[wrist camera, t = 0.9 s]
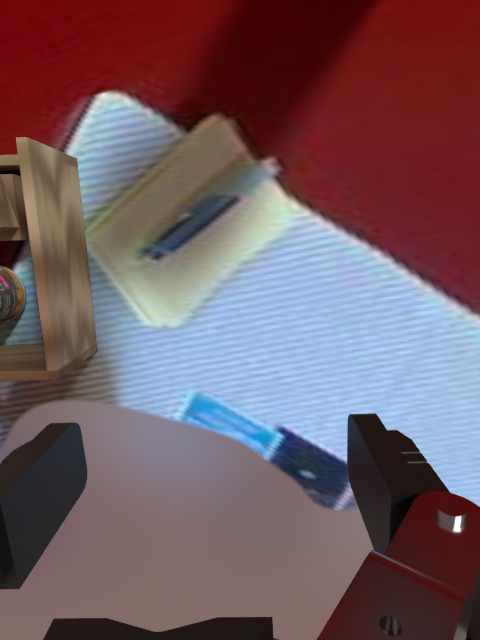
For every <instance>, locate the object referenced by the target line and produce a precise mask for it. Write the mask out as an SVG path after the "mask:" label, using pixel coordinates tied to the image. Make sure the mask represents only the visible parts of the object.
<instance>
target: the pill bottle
mask: <svg viewBox="0 0 480 640" xmlns="http://www.w3.org/2000/svg"><path fill="white" fill-rule="evenodd" d="M25 303H26V291H25V287H24V285H23V283H22V281H21V280H20V278H19V277H18V275H16V274H15V273H14V272H13V271H12V270H10V269H8V268H6V267H4V266H0V324H3V323H6V322H9V321H11V320H13V319H15V318H16V317H17V316H19V315H20V313H21V312H22V311H23V309H24V306H25Z"/></svg>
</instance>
